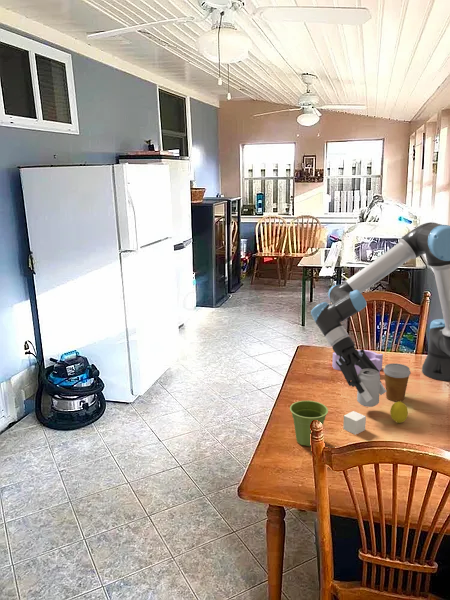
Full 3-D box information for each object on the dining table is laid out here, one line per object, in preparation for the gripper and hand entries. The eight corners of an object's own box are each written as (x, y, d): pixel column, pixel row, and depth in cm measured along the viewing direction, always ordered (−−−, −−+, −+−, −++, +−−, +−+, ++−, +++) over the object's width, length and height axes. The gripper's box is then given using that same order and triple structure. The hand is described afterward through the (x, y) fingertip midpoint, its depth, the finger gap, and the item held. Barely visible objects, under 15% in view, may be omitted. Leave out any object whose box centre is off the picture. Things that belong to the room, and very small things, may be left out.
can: (364, 396, 180) (365, 365, 177) (383, 402, 175) (384, 371, 172) (352, 403, 175) (353, 371, 172) (371, 410, 170) (373, 377, 167)
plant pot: (313, 455, 150) (314, 421, 147) (282, 442, 158) (282, 409, 155) (334, 439, 158) (335, 407, 155) (303, 427, 166) (303, 396, 163)
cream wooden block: (352, 424, 167) (353, 410, 166) (365, 430, 164) (365, 416, 162) (343, 429, 164) (343, 415, 163) (355, 435, 161) (356, 421, 159)
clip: (330, 371, 212) (330, 356, 210) (336, 361, 222) (336, 346, 221) (378, 378, 203) (379, 362, 202) (382, 367, 214) (383, 352, 212)
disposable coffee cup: (414, 400, 183) (416, 370, 180) (392, 405, 180) (394, 374, 177) (397, 390, 191) (399, 361, 188) (376, 394, 188) (378, 365, 185)
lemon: (408, 427, 164) (409, 405, 162) (390, 426, 165) (392, 404, 163) (405, 419, 169) (407, 398, 167) (388, 418, 170) (390, 397, 168)
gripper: (351, 340, 188) (386, 392, 180) (315, 353, 176) (351, 410, 168) (363, 329, 183) (400, 383, 175) (327, 343, 171) (365, 401, 163)
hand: (376, 396), depth 172 cm, fingers closed on can, 7 cm apart
